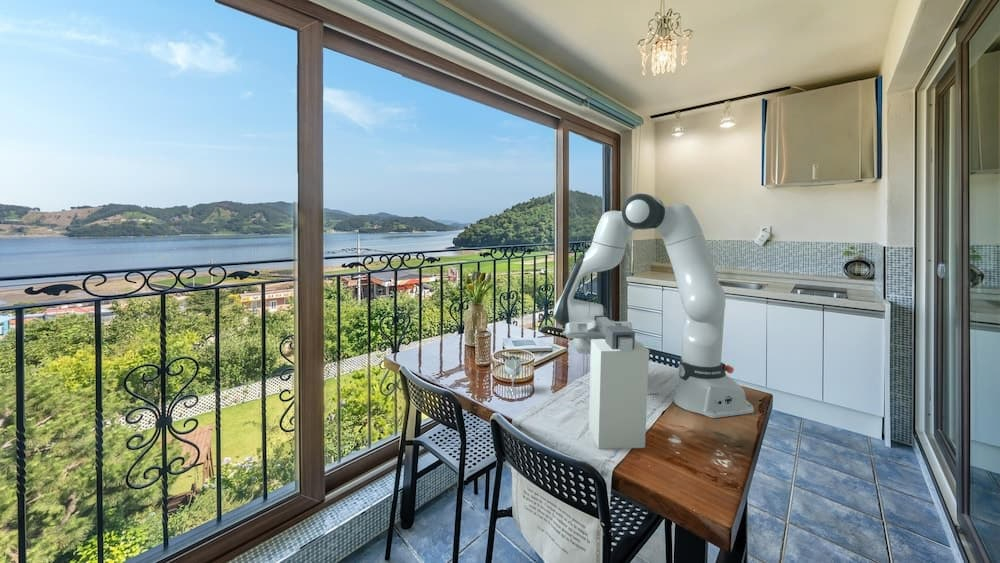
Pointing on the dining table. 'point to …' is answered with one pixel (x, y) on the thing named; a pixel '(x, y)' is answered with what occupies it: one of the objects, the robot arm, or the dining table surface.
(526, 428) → the dining table surface
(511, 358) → the wineglass
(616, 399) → the tall white pillar
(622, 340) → the angular gray block
